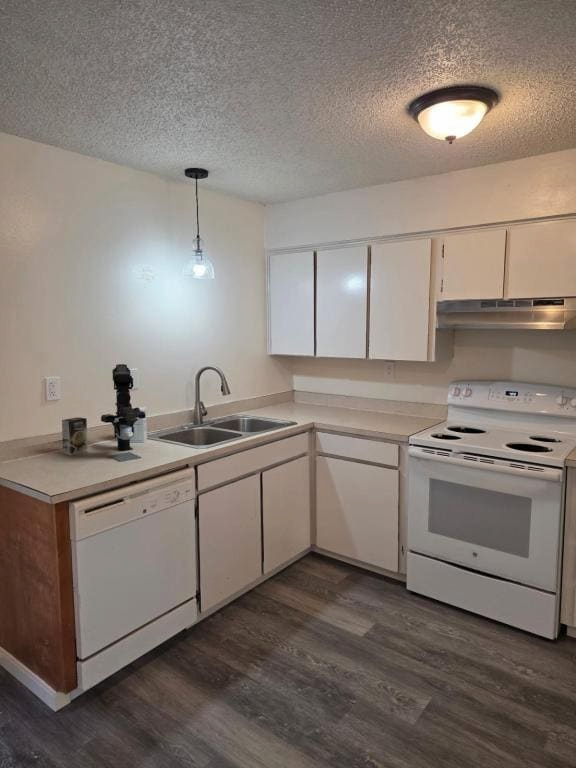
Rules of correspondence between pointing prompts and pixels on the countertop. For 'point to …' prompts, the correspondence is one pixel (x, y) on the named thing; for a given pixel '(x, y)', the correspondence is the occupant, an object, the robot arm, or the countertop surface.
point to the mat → (124, 456)
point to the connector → (125, 432)
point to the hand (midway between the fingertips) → (124, 435)
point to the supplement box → (140, 428)
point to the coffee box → (74, 436)
